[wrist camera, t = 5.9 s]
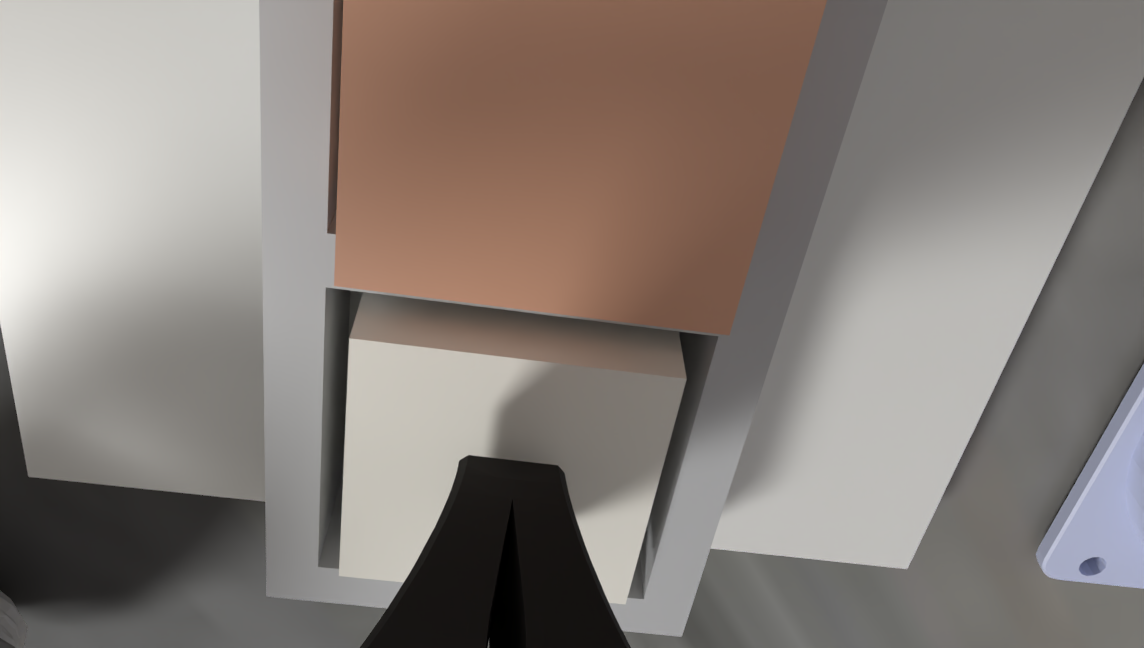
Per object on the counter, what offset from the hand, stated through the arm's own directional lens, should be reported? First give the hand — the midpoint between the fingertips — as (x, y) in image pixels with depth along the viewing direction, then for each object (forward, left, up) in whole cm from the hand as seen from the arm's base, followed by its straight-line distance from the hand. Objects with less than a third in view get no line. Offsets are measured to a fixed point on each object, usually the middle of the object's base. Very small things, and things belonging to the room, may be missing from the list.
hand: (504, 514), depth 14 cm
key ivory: (0, 0, -3) cm, 3 cm away
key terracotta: (0, -6, -2) cm, 6 cm away
